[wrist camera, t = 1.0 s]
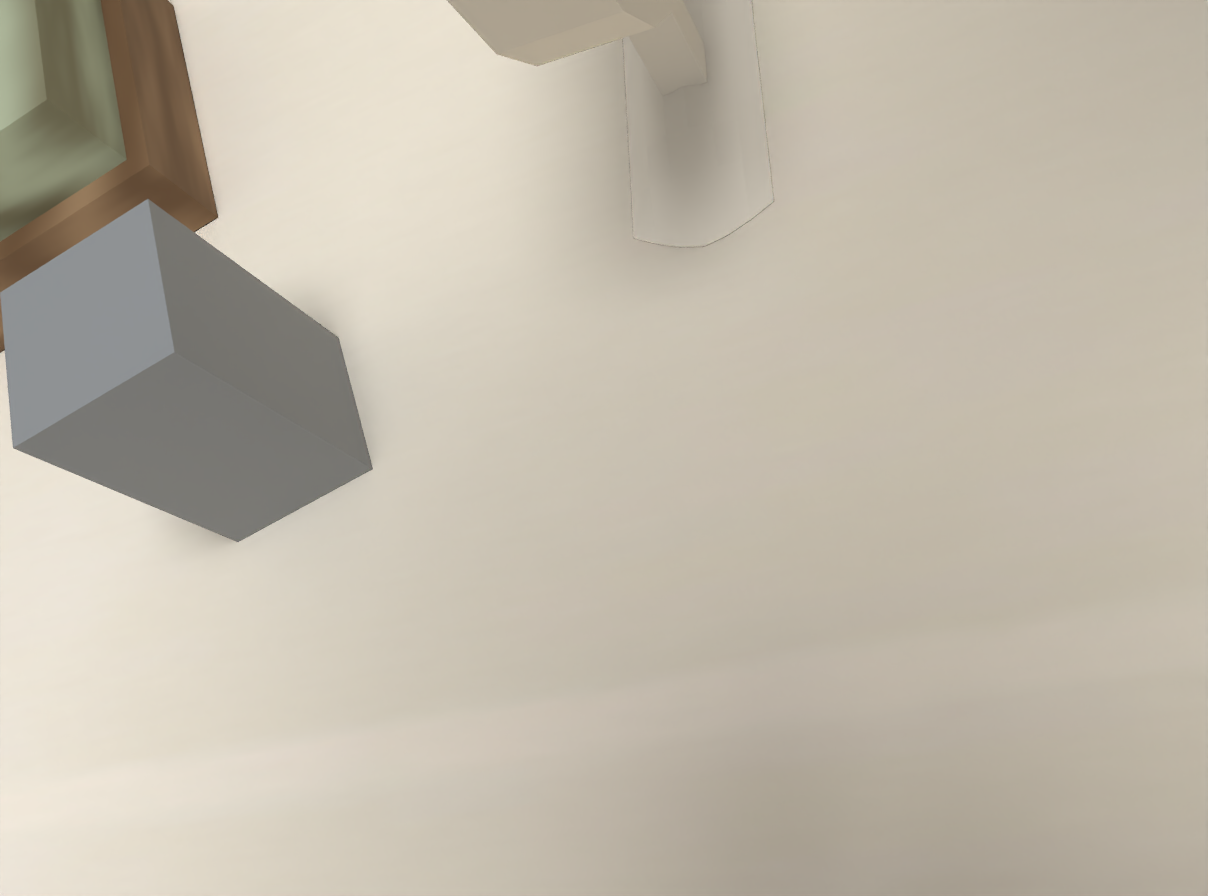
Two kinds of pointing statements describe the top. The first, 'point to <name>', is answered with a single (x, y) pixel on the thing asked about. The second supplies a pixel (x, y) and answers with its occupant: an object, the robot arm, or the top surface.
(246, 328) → the slate brick
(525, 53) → the heart sculpture
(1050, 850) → the top surface
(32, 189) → the block tower
